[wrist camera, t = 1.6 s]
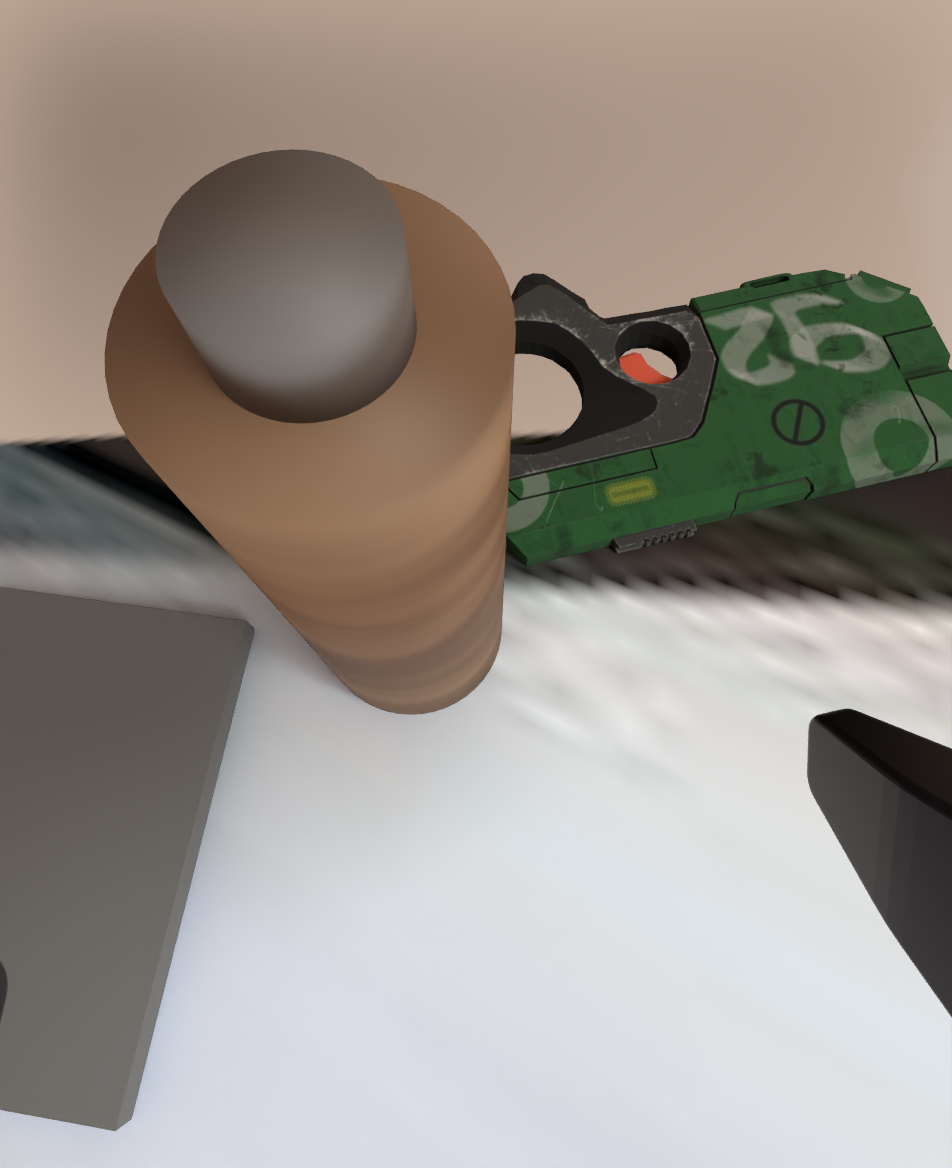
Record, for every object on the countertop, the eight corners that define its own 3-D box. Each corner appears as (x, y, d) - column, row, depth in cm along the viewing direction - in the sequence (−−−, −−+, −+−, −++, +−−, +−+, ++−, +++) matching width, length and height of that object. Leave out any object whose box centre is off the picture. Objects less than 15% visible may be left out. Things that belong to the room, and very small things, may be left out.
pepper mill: (488, 726, 20) (483, 485, 7) (309, 700, 21) (-33, 423, 7) (512, 557, 22) (545, 91, 8) (345, 535, 22) (122, 54, 9)
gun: (870, 192, 25) (1010, 449, 22) (850, 226, 26) (979, 473, 23) (393, 293, 24) (466, 577, 21) (399, 323, 26) (467, 594, 22)
